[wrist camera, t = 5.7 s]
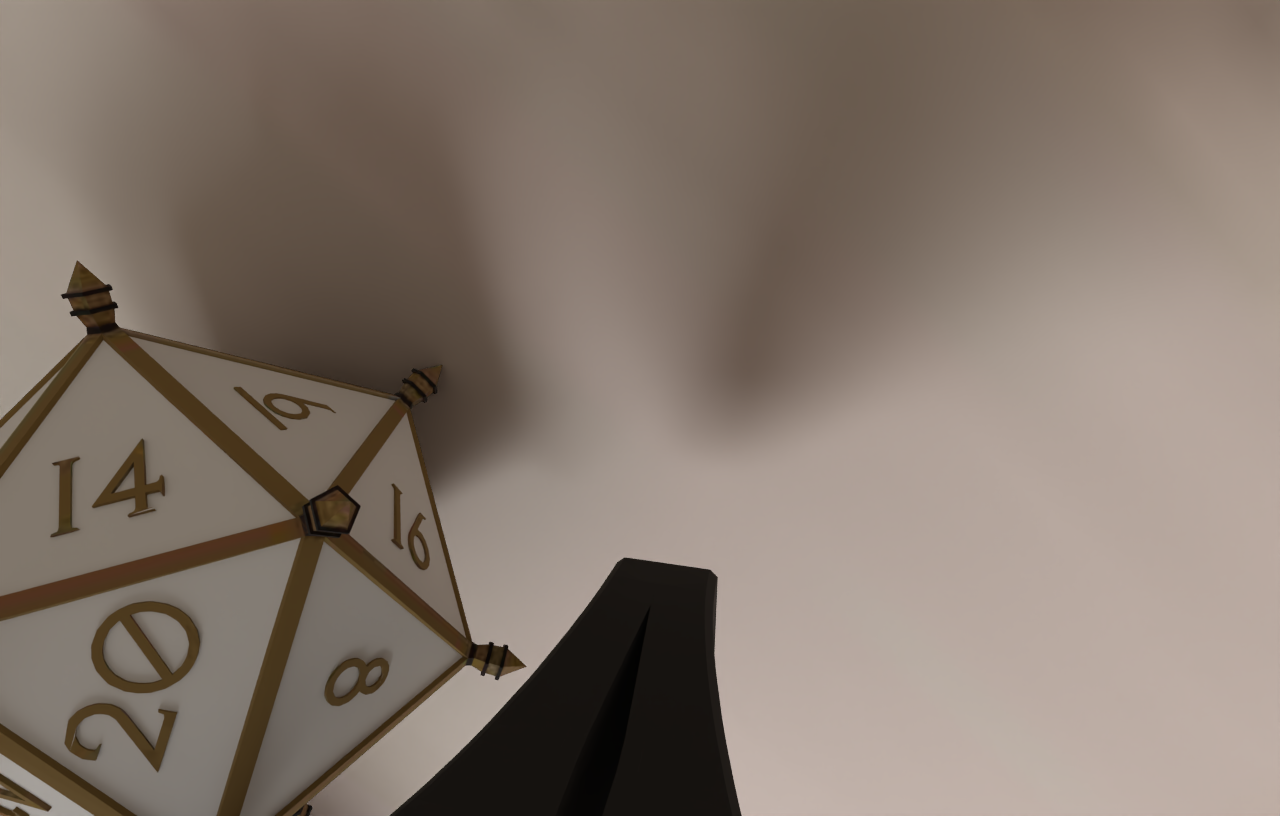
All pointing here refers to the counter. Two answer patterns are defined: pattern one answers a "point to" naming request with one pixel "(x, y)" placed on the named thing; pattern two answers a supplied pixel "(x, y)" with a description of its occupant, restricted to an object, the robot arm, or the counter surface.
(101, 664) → the game die
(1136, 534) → the counter surface
